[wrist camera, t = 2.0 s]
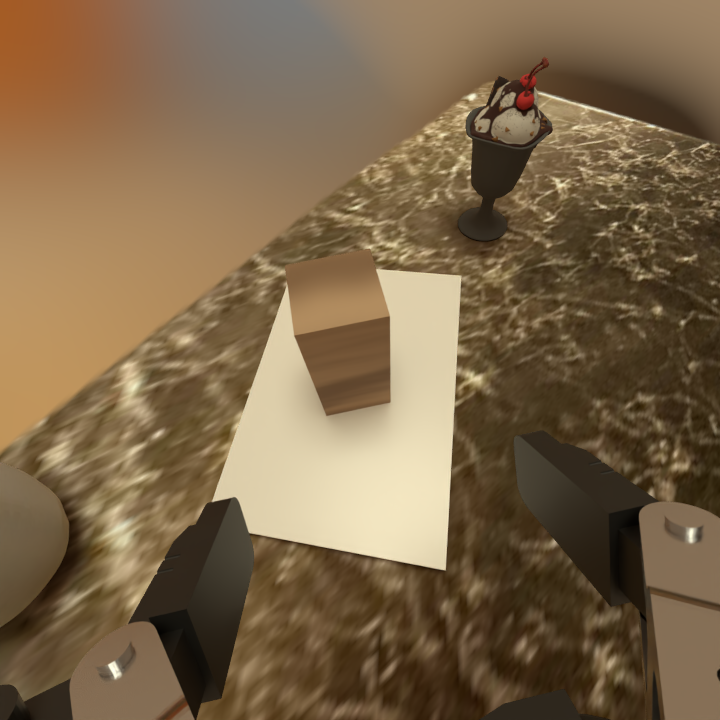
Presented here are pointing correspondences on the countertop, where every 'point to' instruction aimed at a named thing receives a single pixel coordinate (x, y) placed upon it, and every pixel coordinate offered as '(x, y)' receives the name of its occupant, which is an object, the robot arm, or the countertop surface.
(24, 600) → the glass bottle
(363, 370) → the walnut block
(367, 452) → the cream sheet of paper
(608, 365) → the countertop surface
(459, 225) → the sundae
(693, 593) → the robot arm
